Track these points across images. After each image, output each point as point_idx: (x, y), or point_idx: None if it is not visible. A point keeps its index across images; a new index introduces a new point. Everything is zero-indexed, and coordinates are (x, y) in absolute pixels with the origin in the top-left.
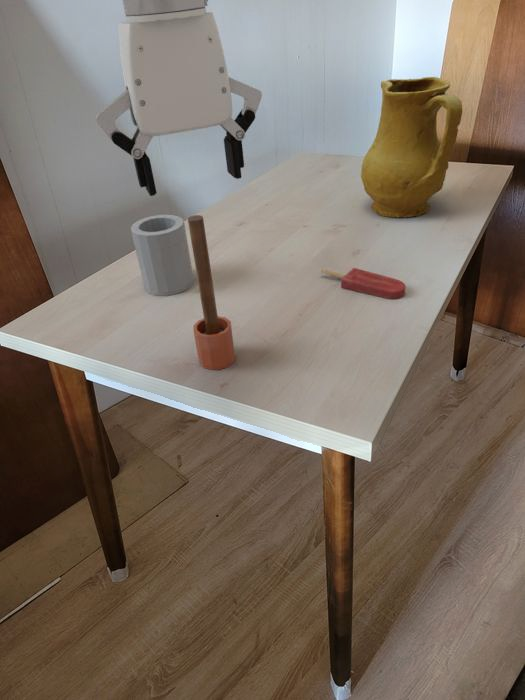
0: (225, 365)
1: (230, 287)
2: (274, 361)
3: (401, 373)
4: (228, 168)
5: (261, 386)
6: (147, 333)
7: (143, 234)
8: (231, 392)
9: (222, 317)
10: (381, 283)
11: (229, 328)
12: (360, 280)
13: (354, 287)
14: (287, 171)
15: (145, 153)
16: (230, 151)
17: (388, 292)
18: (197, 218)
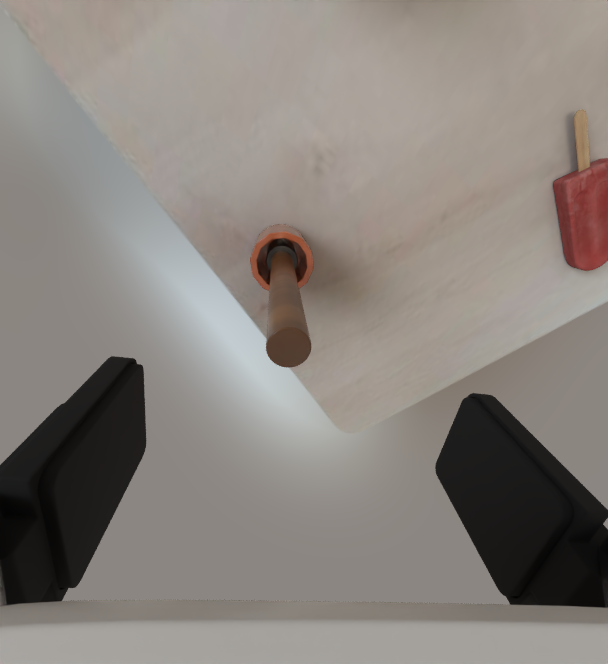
0: None
1: (415, 17)
2: (343, 299)
3: (438, 388)
4: (468, 420)
5: None
6: (200, 96)
7: None
8: None
9: (307, 249)
10: (591, 236)
11: (302, 285)
12: (581, 206)
13: (561, 207)
14: None
15: (40, 599)
16: (490, 541)
17: (573, 261)
18: (291, 356)
